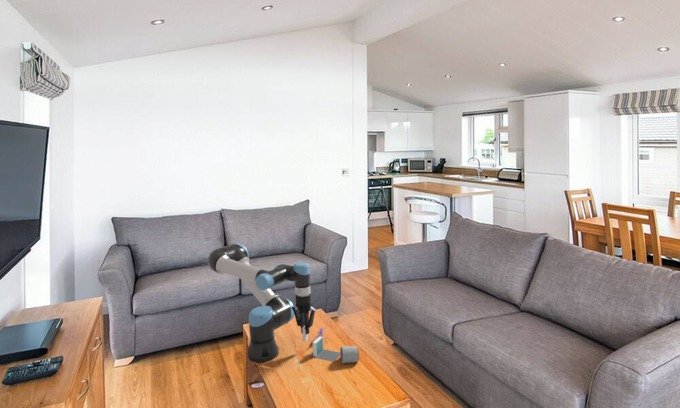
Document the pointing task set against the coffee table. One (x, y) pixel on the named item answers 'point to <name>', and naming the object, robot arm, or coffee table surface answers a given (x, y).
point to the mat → (327, 355)
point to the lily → (320, 334)
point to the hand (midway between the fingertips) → (305, 339)
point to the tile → (317, 346)
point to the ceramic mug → (349, 354)
